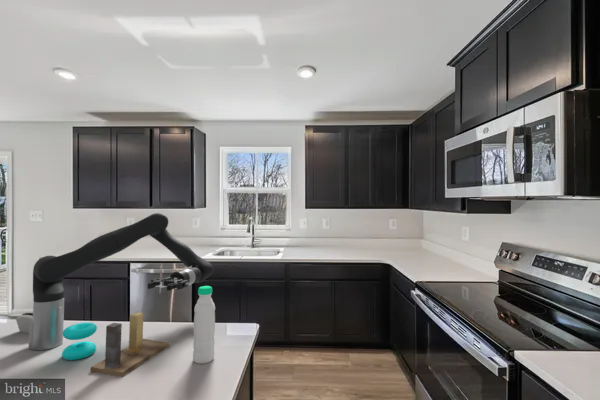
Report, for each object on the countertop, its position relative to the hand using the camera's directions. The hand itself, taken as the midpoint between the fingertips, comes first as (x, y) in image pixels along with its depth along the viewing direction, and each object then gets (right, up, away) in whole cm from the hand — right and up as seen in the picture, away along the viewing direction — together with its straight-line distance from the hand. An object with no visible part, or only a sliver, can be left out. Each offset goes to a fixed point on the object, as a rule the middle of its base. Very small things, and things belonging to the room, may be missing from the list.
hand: (157, 287), depth 124 cm
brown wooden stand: (-3, -21, -11) cm, 24 cm away
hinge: (-54, -21, +8) cm, 58 cm away
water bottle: (+21, -22, -13) cm, 33 cm away
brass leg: (-3, -20, -11) cm, 23 cm away
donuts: (-23, -21, -11) cm, 33 cm away
